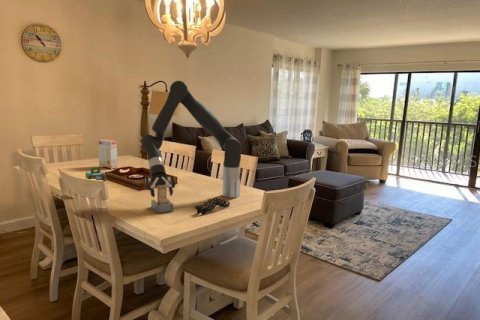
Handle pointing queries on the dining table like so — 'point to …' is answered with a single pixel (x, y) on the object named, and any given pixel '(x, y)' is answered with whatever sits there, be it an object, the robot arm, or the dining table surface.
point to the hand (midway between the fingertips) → (162, 195)
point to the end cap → (162, 207)
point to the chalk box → (96, 174)
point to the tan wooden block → (162, 194)
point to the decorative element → (206, 209)
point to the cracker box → (108, 153)
